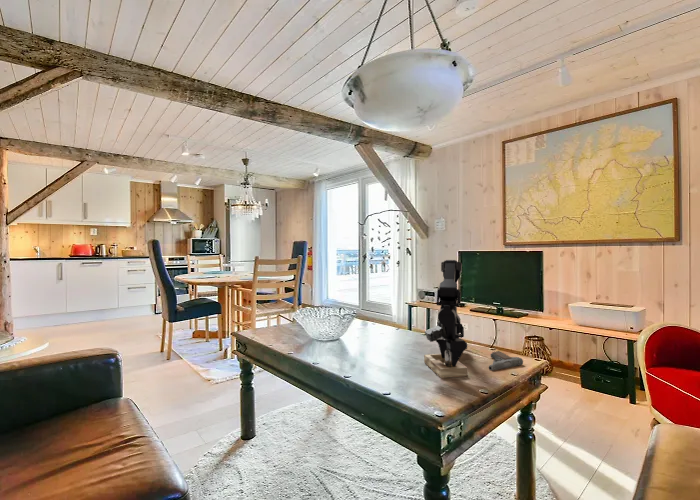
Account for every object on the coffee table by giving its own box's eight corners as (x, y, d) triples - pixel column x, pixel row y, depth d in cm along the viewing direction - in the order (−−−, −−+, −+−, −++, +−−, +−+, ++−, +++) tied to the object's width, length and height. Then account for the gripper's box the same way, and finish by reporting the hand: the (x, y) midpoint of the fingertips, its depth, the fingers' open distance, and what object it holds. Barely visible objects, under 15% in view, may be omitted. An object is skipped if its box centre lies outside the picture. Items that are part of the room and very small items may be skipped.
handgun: (470, 356, 144) (492, 365, 133) (500, 350, 150) (524, 358, 139) (470, 363, 144) (492, 373, 133) (500, 357, 150) (524, 366, 139)
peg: (440, 369, 134) (440, 349, 134) (451, 368, 135) (451, 348, 135) (444, 373, 130) (444, 352, 130) (456, 372, 130) (456, 352, 130)
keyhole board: (424, 362, 143) (424, 354, 143) (448, 360, 145) (448, 353, 145) (440, 377, 127) (440, 369, 126) (467, 376, 128) (467, 367, 128)
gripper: (418, 315, 140) (419, 355, 140) (436, 326, 122) (437, 372, 122) (446, 314, 142) (446, 354, 142) (467, 325, 123) (468, 370, 123)
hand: (448, 362), depth 132 cm, fingers open, 9 cm apart
